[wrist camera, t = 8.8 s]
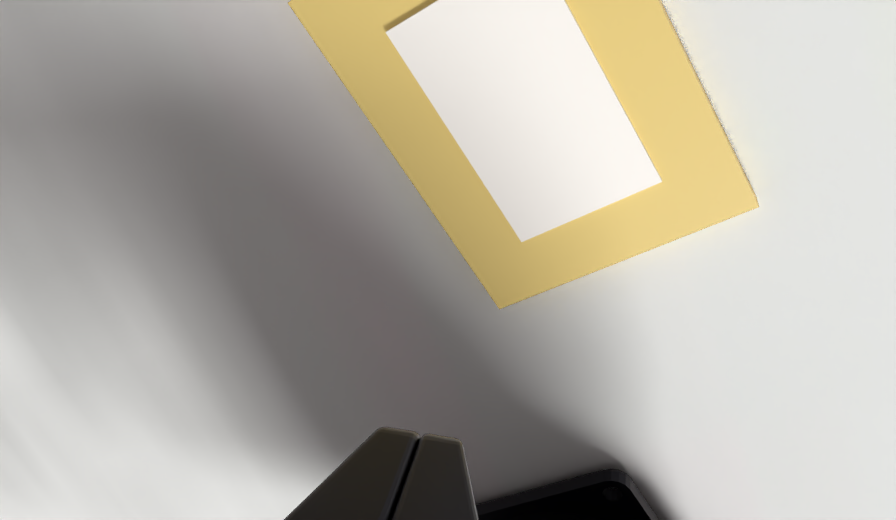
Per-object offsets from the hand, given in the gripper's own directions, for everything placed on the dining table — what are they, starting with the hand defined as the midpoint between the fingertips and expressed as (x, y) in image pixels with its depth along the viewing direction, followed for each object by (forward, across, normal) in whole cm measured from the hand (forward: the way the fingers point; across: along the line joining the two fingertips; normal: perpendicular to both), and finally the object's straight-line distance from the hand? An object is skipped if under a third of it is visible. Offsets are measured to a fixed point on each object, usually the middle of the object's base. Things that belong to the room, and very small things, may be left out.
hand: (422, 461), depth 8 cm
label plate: (+10, 0, 0) cm, 10 cm away
